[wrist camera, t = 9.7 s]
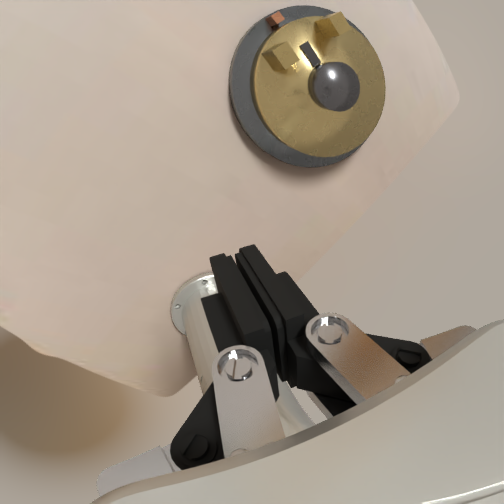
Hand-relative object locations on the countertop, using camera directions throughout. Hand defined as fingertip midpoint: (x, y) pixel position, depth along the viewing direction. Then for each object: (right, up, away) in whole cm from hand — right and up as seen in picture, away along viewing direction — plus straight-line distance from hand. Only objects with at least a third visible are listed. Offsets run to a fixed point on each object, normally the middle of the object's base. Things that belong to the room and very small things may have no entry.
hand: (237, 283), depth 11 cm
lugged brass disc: (+9, +22, +22) cm, 32 cm away
